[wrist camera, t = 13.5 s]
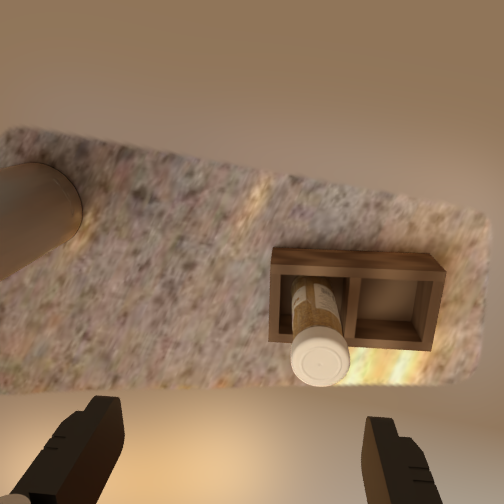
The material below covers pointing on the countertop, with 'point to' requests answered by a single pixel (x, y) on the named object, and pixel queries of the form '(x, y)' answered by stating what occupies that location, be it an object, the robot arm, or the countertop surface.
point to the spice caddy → (364, 295)
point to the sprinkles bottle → (317, 333)
